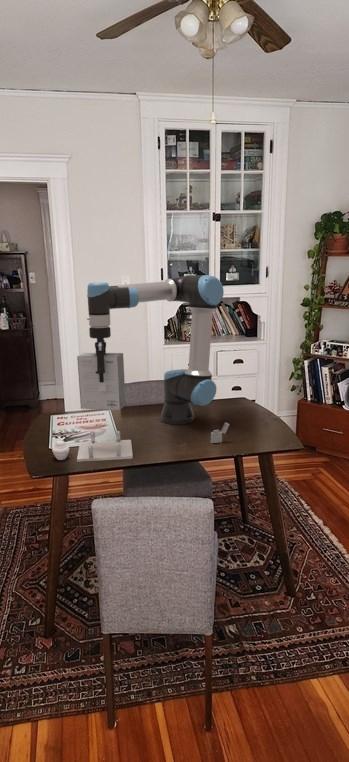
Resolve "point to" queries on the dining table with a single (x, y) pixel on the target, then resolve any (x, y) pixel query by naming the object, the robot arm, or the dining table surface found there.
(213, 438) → the lighter
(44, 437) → the dining table surface
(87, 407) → the hard drive box
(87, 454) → the pin tray
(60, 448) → the white lidded jar
